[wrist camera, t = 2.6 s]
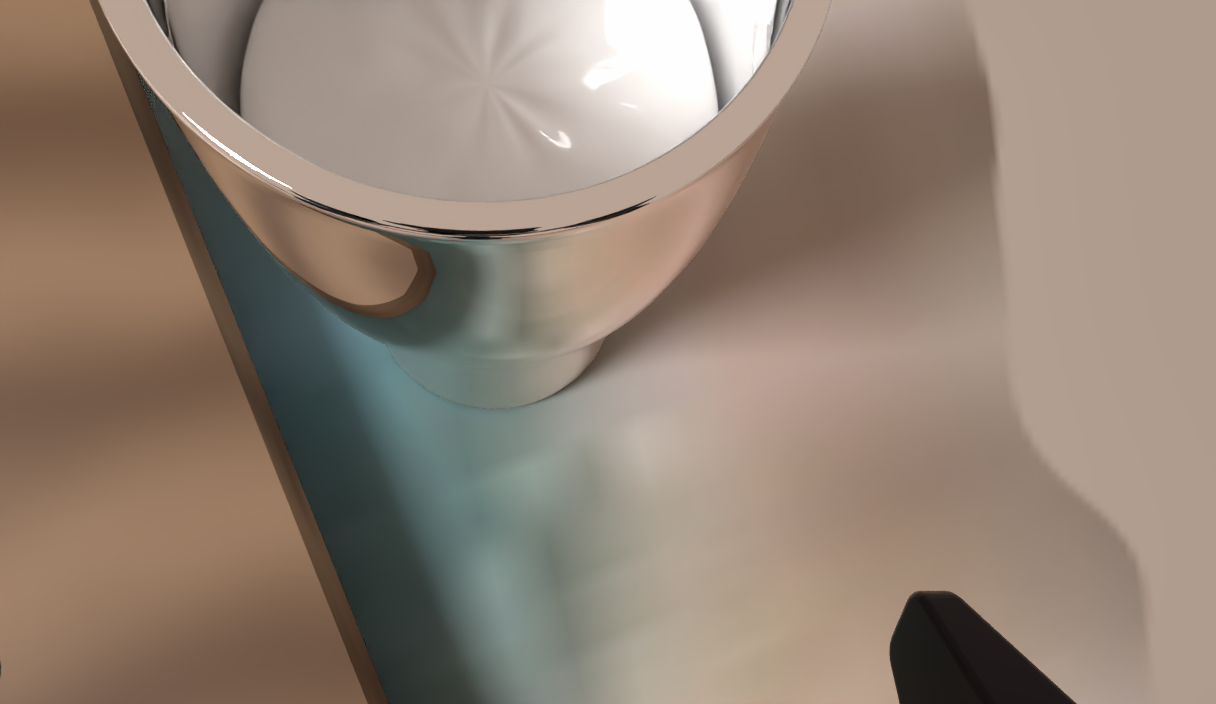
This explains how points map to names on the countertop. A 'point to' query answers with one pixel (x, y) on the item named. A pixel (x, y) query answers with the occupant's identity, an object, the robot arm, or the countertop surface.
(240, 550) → the walnut board
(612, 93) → the beer glass
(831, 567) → the countertop surface
